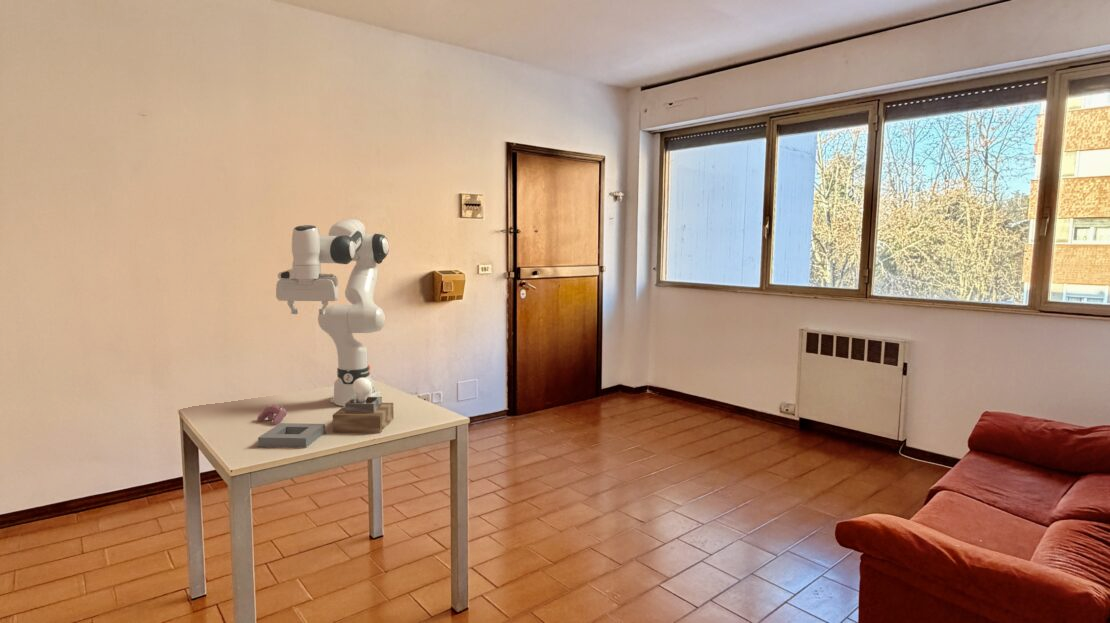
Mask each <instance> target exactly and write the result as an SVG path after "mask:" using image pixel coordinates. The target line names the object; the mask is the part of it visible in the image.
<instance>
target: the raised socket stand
mask: <svg viewBox="0 0 1110 623" xmlns="http://www.w3.org/2000/svg"><path fill="white" fill-rule="evenodd" d="M394 414H395V413H394V402H383V399H382V396H380V397H367V399H366V403H358V400H357V397H354V398H352V399H351V400H350V401H348V402H347V403H346V404H345V406H341V408H340V409H338V410H337V411H335V412H334V413H333V414H332V433H358V434H359V433H363V434H365V433H367V434H369V433H370V434H371V433H372V434H376V433H377V434H378V433H379V434H381V433H382V432H383V431H384V430H385V429H386V428H387V426H388V425H389V424H391V422H392V421H394ZM385 427H386V428H385ZM384 428H385V429H384ZM383 429H384V430H383ZM382 430H383V431H382Z"/></svg>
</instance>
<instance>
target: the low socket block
mask: <svg viewBox="0 0 1110 623" xmlns="http://www.w3.org/2000/svg"><path fill="white" fill-rule="evenodd" d="M325 433H326V423H302V422H301V423H297V422H296V423H295V422H293V423H290V422H286V423H285V422H284V423H283V422H280V423H279V424H277V425H274V427H272V428H271V429H269V430H267V431H266V432H264V433H262V434H261V435H260V436H258V437H257V443H258V444H257V445H258V446H259V447H258V446H257V447H258V448H299V447H306V448H308V447H309V446H310V445H312V444H313V443H314V442H315V441H316V440H317V438H318V439H319V438H320V437H321V436H323V435H324V434H325ZM322 434H323V435H322ZM312 442H313V443H312ZM307 446H308V447H307Z"/></svg>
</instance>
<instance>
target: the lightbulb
mask: <svg viewBox="0 0 1110 623" xmlns="http://www.w3.org/2000/svg"><path fill="white" fill-rule="evenodd" d="M371 387H372V386H371V382H370V381H369V380H368V379H367V378H358V379H356V380H355V381H354V383H353V385H352V389H353V392H354V393H355V394H356V396H357V400H358V403H366V399H367V396H368V394H369V392H370V391H371Z"/></svg>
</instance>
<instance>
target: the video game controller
mask: <svg viewBox="0 0 1110 623" xmlns="http://www.w3.org/2000/svg"><path fill="white" fill-rule="evenodd" d="M287 412H288V411H287V410H286V409H285V408H284V407H283V406H281V405H280V404H279V405H278V404H271V405H267V406H266V407H265V408H264V409H263V410H262V411H261V412H260V413H259V414H258V416H257V422H258V423H260V422H259V421H261V422H262V421H264V420H266V419H267V420H268V421H270V422H272V425H273V426H277V425H278V424H280V423H282V421H283V419H284V418H285V417H286V415H287ZM275 414H276V415H275ZM272 420H273V421H272Z"/></svg>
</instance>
